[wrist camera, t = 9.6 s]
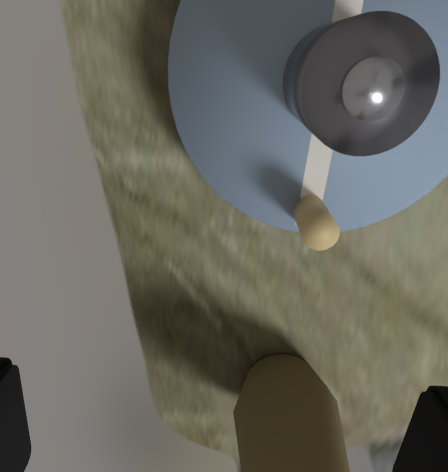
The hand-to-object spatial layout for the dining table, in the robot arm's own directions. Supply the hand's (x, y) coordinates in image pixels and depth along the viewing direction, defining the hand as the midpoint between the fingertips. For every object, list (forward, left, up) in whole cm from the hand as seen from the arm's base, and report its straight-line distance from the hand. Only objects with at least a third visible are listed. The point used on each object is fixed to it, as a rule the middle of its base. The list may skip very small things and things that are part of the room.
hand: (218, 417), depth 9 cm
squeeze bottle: (+17, +6, -19) cm, 27 cm away
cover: (-7, +5, -16) cm, 19 cm away
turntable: (-7, +5, -18) cm, 20 cm away
